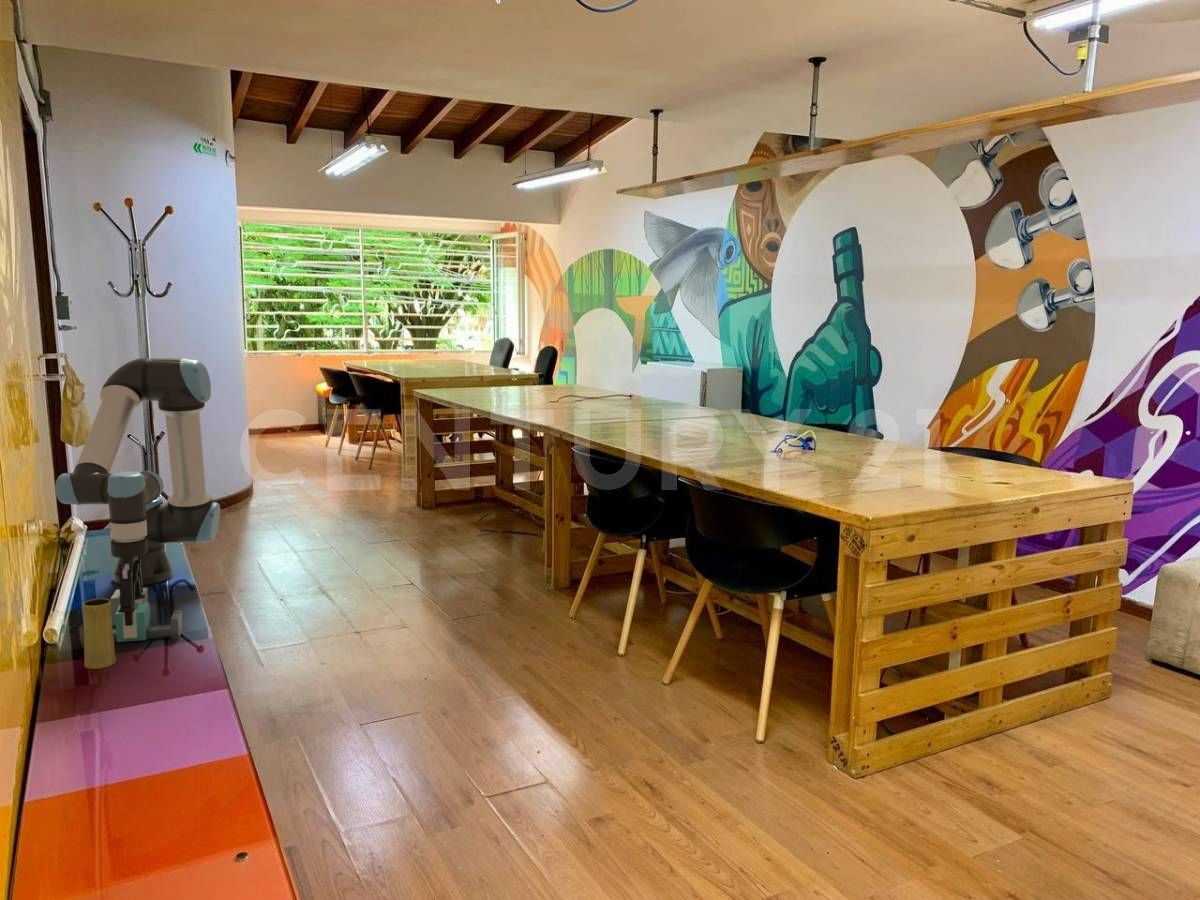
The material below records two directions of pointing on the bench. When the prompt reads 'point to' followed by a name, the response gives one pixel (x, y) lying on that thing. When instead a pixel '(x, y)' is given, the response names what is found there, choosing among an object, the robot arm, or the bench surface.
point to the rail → (164, 628)
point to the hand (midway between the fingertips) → (133, 631)
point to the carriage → (142, 623)
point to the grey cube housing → (116, 603)
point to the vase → (98, 634)
